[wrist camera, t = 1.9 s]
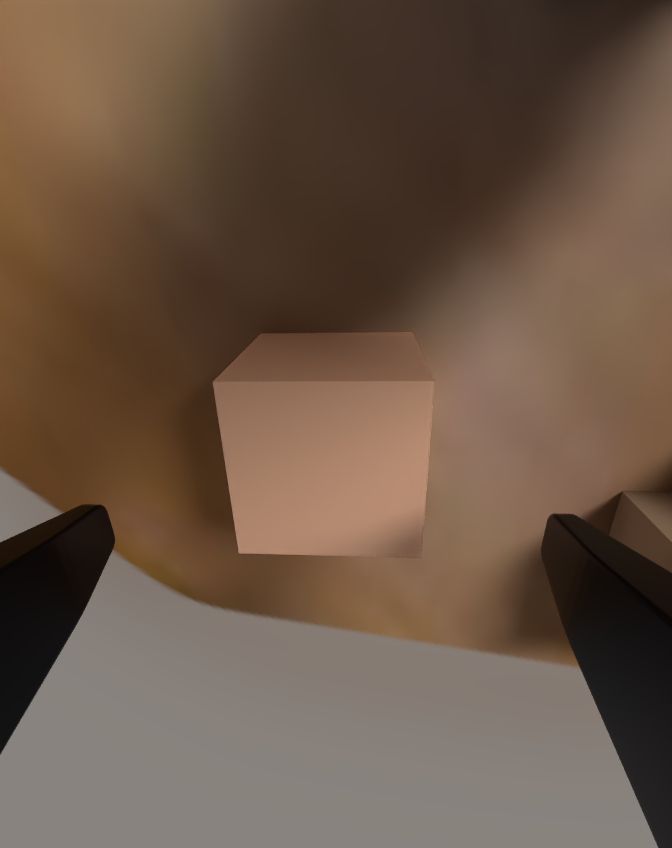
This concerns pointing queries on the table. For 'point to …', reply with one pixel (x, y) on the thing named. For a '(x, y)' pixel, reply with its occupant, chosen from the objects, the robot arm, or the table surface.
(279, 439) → the terracotta block
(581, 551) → the robot arm
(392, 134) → the table surface
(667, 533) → the walnut block
